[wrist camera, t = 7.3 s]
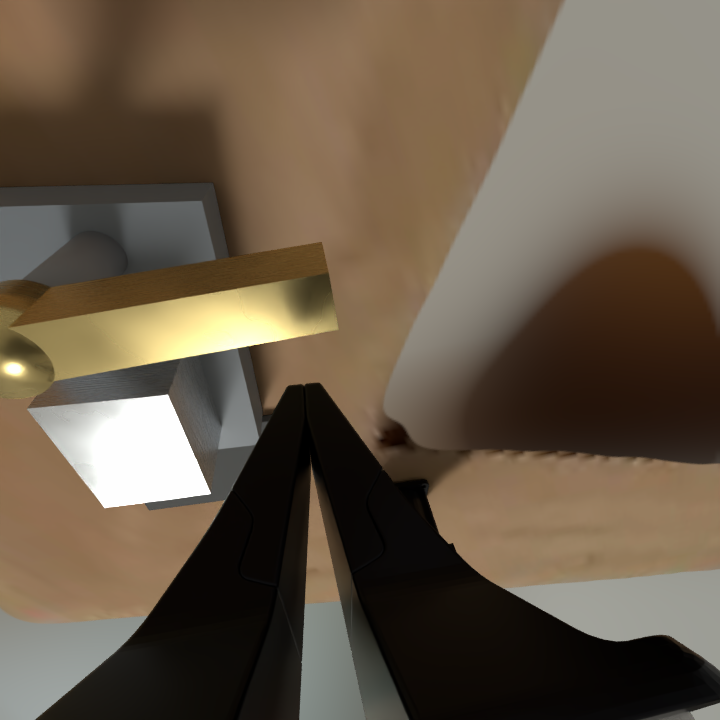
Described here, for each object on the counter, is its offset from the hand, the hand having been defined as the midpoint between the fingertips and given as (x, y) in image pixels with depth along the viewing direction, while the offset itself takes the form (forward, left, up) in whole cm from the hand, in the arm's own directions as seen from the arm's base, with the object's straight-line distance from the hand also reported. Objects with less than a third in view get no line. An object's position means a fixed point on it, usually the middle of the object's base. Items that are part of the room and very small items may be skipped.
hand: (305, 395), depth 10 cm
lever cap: (+8, +7, -9) cm, 14 cm away
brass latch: (+4, -1, -4) cm, 6 cm away
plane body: (+8, +5, -12) cm, 15 cm away
